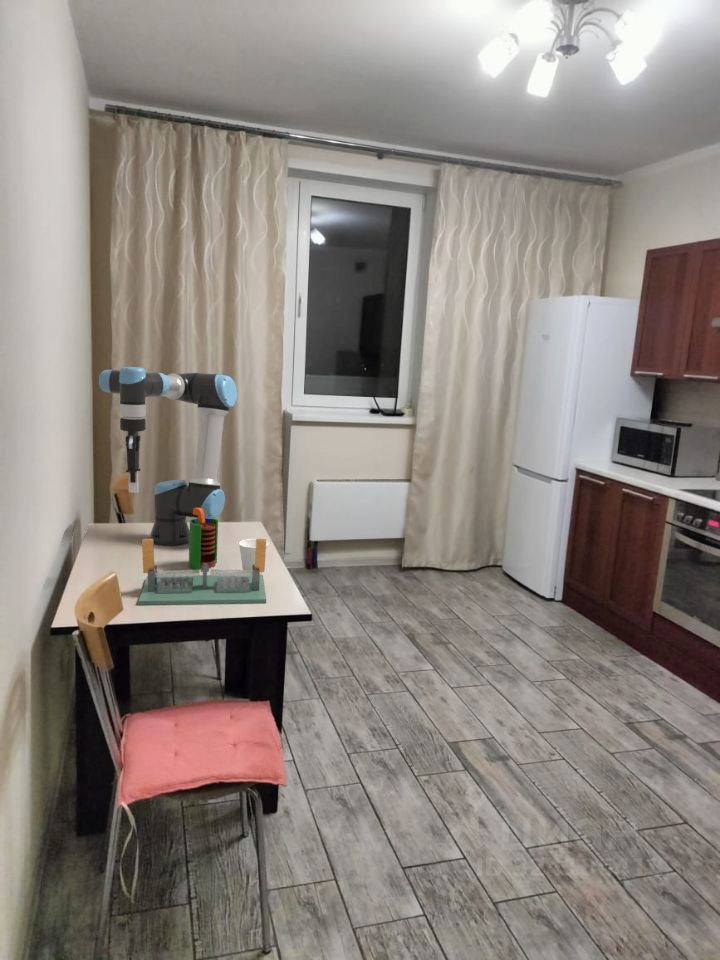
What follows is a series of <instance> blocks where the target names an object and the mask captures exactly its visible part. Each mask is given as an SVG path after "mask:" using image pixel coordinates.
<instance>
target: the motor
mask: <svg viewBox="0 0 720 960" xmlns="http://www.w3.org/2000/svg"><path fill="white" fill-rule="evenodd" d="M193 515H198V517H199V518H192V519H190V520H189V530H190V534H189V542H188V543H189V544H188V545H189V546H188V549H189V550H188V567H189V568H191V569H192V570H200V571H201V566H203V563H207V566H209V569H212V568H211V567H213V568H215V567H216V564H217V562H218V539H219V537H218V535H219V533H218V532H219V528H218V527H219V520H218V519H216V518H215V519H213V518H205V517H204V511H203V509H202V508H194V509H193Z"/></svg>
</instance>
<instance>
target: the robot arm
mask: <svg viewBox="0 0 720 960" xmlns="http://www.w3.org/2000/svg"><path fill="white" fill-rule="evenodd" d="M98 385H99V387H100V389H101V390H102V391H103V392H104V393H109V394H117V395H118V394H119V403H120V404H119V406H118V407H117V409H118V410H120V411H119V415H120V418H119V429H120V430H121V431H123V432H127V435H126V436H125V442H126V443H125V446H126V456H127V457H126V458H127V460H126V462H127V469H126V470H125V472H126V473H128V493H135V494H136V493H139V472H141V468H140V464H139V463H140V462H139V461H140V449H141V448H140V446H141V445H140V443H141V435H139V432H144V431H145V430H146V422H147V421H146V419H145V417H146V415H147V413H146V412H147V411H146V410H147V409H146V408H147V407H146V398H150V397H166V398H167V399H169V400H172V401H173V400H174V401H180V402H183V403H189V404H194V405H197V407H196V408H197V410H198V411H199V412H200V417H199V418H200V419H199V427H198V436H197V443H196V444H197V445H196V451H195V453H196V454H195V462H194V470H193V471H194V472H193V477H192V478H190V480H189V481H188V483H187V481H186V480H185V479H184V480H183V479H171V480H165V481H161V482H157V483H156V485H155V486H154V494H153V495H154V522H153V525H152V527H151V531H150V534H149V539H153V542H154V545H158V546H181V545H185V544H187V543H189V534H190V526H189V524H188V522H187V518H192V519H196V518H199V517H198V515H193V509H194V508H202V509H203V511H204V517H205V518H213V519H216V518H218V517H219V516H220V514H222V511H223V510H224V507H225V503H226V495H225V492H224V490H222V489H221V483H220V482H219V481H218V472H219V464H220V456H221V447H222V438H223V430H224V421H225V416H226V415H228V414H229V413H230V408H233V407H234V406H235V405H236V403H237V399H238V390H237V386H236V383H235V381H234V379H233V378H232V377H231V376H229V375H224V374H215V373H214V374H213V373H201V372H185V373H174V372H173V373H169V374H167V375H166V374H165V373H162V372H146V370H145V368H143V367H140V366H139V367H138V366H123V367H121V368H120V369H119V370H118V369H104V370H103V371H101V373H100V374H99V377H98Z"/></svg>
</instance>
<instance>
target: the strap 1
mask: <svg viewBox="0 0 720 960" xmlns="http://www.w3.org/2000/svg"><path fill="white" fill-rule="evenodd" d="M154 545H155V544H154V542H153V539H150V538H142V541H141V547H142V550H141V551H142V553H141V554H142V573H143V574H148V571H151V570H155V568H154V565H155V553H154V552H155V549H154V548H155V546H154ZM200 572H201V569H200V570H196V569H180V570H177V569H176V570H157V571H155V578H157V577H183V576H199V575H200V574H201V573H200Z"/></svg>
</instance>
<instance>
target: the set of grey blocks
mask: <svg viewBox="0 0 720 960" xmlns="http://www.w3.org/2000/svg"><path fill="white" fill-rule="evenodd" d="M254 567H255V564H253V567H252V570H253V577H252V585H253V590H259V582H260V570H254ZM154 568H155V570H151V571H148V573H147V576H148V592H155V586H157V578H155V571H158V564H154ZM200 572H201V573H202V575H203V589H207V575H208V573H209V572H210V568H209V566H207V563H203V566H201V569H200ZM192 588H193V578H189V576H186V578H182V577H179V578H175V577H172V578H167V577H164V578H161V579H160V583H159V586H158V594H161V593H192ZM235 592H250V584H249V577H245V576H243V577H238V576H236V577H231V576H229V577H224V576H222V577H217V593H235Z"/></svg>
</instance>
